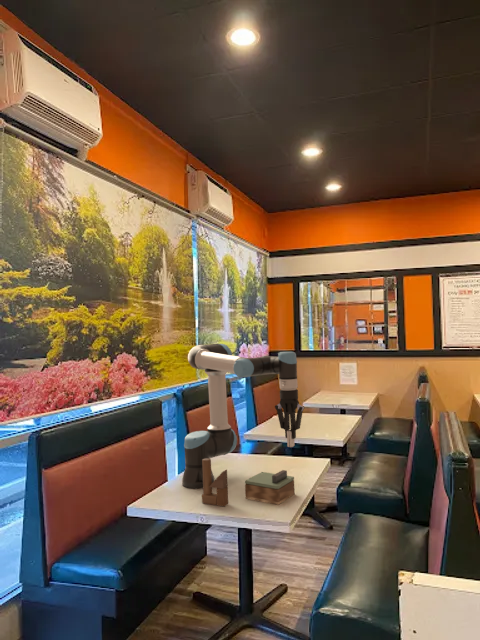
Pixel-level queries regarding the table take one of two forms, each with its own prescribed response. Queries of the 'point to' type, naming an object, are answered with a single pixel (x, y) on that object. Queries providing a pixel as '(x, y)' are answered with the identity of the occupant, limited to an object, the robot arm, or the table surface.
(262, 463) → the table surface
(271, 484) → the lid
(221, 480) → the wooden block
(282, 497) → the wooden box
